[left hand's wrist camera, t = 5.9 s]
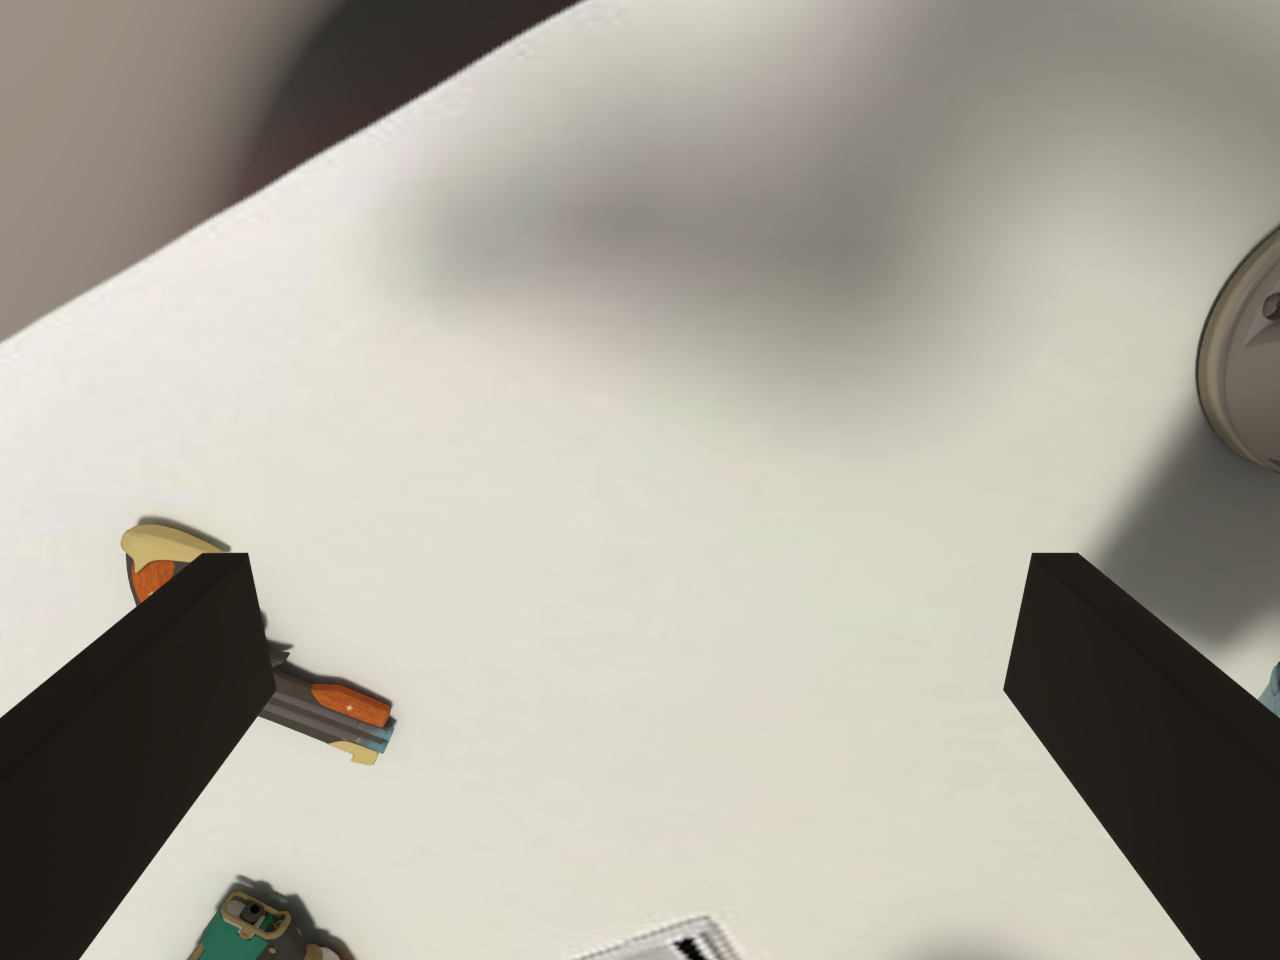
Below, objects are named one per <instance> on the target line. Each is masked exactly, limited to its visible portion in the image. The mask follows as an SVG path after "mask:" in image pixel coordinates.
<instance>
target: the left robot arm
mask: <svg viewBox="0 0 1280 960" xmlns="http://www.w3.org/2000/svg"><path fill="white" fill-rule="evenodd" d="M1198 380H1199V391H1200V396H1201V401H1202V404H1203V408H1204V411H1205V413H1206V416H1207V418H1208V420H1209V422H1210V424H1211V426H1212V427H1213V429H1214V430H1215V432H1216V433H1217V434H1218V436H1219V437H1220V438H1221V439H1222V441H1223V442H1224V443H1226V444H1227V445H1228V446H1229V447H1230V448H1231V449H1232V450H1234V451H1235V452H1236V453H1238V454H1239V455H1241V456H1242V457H1244V458H1246V459H1248V460H1250V461H1252V462H1254V463H1256V464H1259V465H1261V466H1263V467H1266V468H1268V469H1270V470H1273V471H1275V472H1277V473H1280V229H1279V230H1278V231H1277V232H1276V233H1274V234H1273V235H1272V236H1271V237H1270V238H1268V239H1267V240H1266V241H1265V242H1264V243H1263V244H1262V245H1261V246H1260V247H1259V248H1258V249H1257V250H1256V251H1255V252H1254V253H1253V254H1252V255H1251V256H1250V257H1249V258H1248V259H1247V260H1246V262H1245V263H1244V264H1243V265H1242V266H1241V267H1240V269H1239V270H1238V271H1237V273H1236V274H1235V275H1234V277H1233V278H1232V279H1231V281H1230V282H1229V284H1228V285H1227V287H1226V289H1225V290H1224V292H1223V293H1222V295H1221V297H1220V299H1219V301H1218V303H1217V304H1216V306H1215V308H1214V311H1213V313H1212V315H1211V317H1210V320H1209V322H1208V325H1207V328H1206V331H1205V334H1204V338H1203V342H1202V346H1201V351H1200V358H1199V370H1198ZM276 690H277V689H276V684H275V679H274V674H273V669H272V665H271V660H270V655H269V650H268V646H267V641H266V636H265V631H264V627H263V622H262V617H261V612H260V608H259V603H258V598H257V593H256V589H255V584H254V579H253V574H252V570H251V565H250V560H249V555H248V553H201V554H200V555H199V556H198V557H197V558H195V559H194V560H193V561H192V562H190V563H189V564H188V565H187V566H186V567H184V568H183V569H182V570H181V571H179V572H178V573H177V574H176V575H175V576H173V577H172V578H171V579H170V580H168V581H167V582H166V583H165V584H164V585H162V586H161V587H160V588H159V589H157V590H156V591H155V592H154V593H153V594H151V595H150V596H149V597H148V598H146V599H145V600H144V601H143V602H142V603H140V604H139V605H138V606H137V607H135V608H134V609H133V610H132V611H131V612H129V613H128V614H127V615H126V616H124V617H123V618H122V619H121V620H120V621H118V622H117V623H116V624H115V625H113V626H112V627H111V628H110V629H109V630H107V631H106V632H105V633H104V634H102V635H101V636H100V637H99V638H98V639H96V640H95V641H94V642H93V643H91V644H90V645H89V646H88V647H87V648H85V649H84V650H83V651H82V652H80V653H79V654H78V655H77V656H76V657H74V658H73V659H72V660H71V661H69V662H68V663H67V664H66V665H65V666H63V667H62V668H61V669H60V670H58V671H57V672H56V673H55V674H54V675H52V676H51V677H50V678H49V679H47V680H46V681H45V682H44V683H43V684H41V685H40V686H39V687H38V688H36V689H35V690H34V691H33V692H32V693H30V694H29V695H28V696H27V697H25V698H24V699H23V700H22V701H21V702H19V703H18V704H17V705H16V706H14V707H13V708H12V709H11V710H10V711H8V712H7V713H6V714H5V715H3V716H2V717H1V718H0V960H79V959H80V958H81V956H82V955H83V954H84V952H85V951H86V949H87V948H88V947H89V945H90V944H91V943H92V941H93V940H94V939H95V937H96V936H97V934H98V933H99V932H100V930H101V929H102V928H103V926H104V925H105V924H106V922H107V921H108V919H109V918H110V917H111V915H112V914H113V913H114V911H115V910H116V909H117V907H118V906H119V904H120V903H121V902H122V900H123V899H124V898H125V896H126V895H127V894H128V892H129V891H130V889H131V888H132V887H133V885H134V884H135V883H136V881H137V880H138V879H139V877H140V876H141V874H142V873H143V872H144V870H145V869H146V868H147V866H148V865H149V864H150V862H151V861H152V859H153V858H154V857H155V855H156V854H157V853H158V851H159V850H160V849H161V847H162V846H163V844H164V843H165V842H166V840H167V839H168V838H169V836H170V835H171V834H172V832H173V831H174V829H175V828H176V827H177V825H178V824H179V823H180V821H181V820H182V819H183V817H184V816H185V814H186V813H187V812H188V810H189V809H190V808H191V806H192V805H193V804H194V802H195V801H196V799H197V798H198V797H199V795H200V794H201V793H202V791H203V790H204V789H205V787H206V786H207V784H208V783H209V782H210V780H211V779H212V778H213V776H214V775H215V774H216V772H217V771H218V769H219V768H220V767H221V765H222V764H223V763H224V761H225V760H226V759H227V757H228V756H229V754H230V753H231V752H232V750H233V749H234V748H235V746H236V745H237V744H238V742H239V741H240V739H241V738H242V737H243V735H244V734H245V733H246V731H247V730H248V729H249V727H250V726H251V724H252V723H253V722H254V720H255V719H256V718H257V716H258V715H259V714H260V712H261V711H262V709H263V708H264V707H265V705H266V704H267V703H268V701H269V700H270V699H271V697H272V696H273V694H274V693H275V692H276ZM1003 690H1004V692H1005V693H1006V694H1007V696H1008V697H1009V699H1010V700H1011V701H1012V703H1013V704H1014V705H1015V707H1016V708H1017V709H1018V711H1019V712H1020V714H1021V715H1022V716H1023V718H1024V719H1025V720H1026V722H1027V723H1028V724H1029V726H1030V727H1031V729H1032V730H1033V731H1034V733H1035V734H1036V735H1037V737H1038V738H1039V739H1040V741H1041V742H1042V744H1043V745H1044V746H1045V748H1046V749H1047V750H1048V752H1049V753H1050V754H1051V756H1052V757H1053V759H1054V760H1055V761H1056V763H1057V764H1058V765H1059V767H1060V768H1061V769H1062V771H1063V772H1064V774H1065V775H1066V776H1067V778H1068V779H1069V780H1070V782H1071V783H1072V784H1073V786H1074V787H1075V789H1076V790H1077V791H1078V793H1079V794H1080V795H1081V797H1082V798H1083V799H1084V801H1085V802H1086V804H1087V805H1088V806H1089V808H1090V809H1091V810H1092V812H1093V813H1094V814H1095V816H1096V817H1097V819H1098V820H1099V821H1100V823H1101V824H1102V825H1103V827H1104V828H1105V829H1106V831H1107V832H1108V834H1109V835H1110V836H1111V838H1112V839H1113V840H1114V842H1115V843H1116V844H1117V846H1118V847H1119V849H1120V850H1121V851H1122V853H1123V854H1124V855H1125V857H1126V858H1127V859H1128V861H1129V862H1130V864H1131V865H1132V866H1133V868H1134V869H1135V870H1136V872H1137V873H1138V874H1139V876H1140V877H1141V879H1142V880H1143V881H1144V883H1145V884H1146V885H1147V887H1148V888H1149V889H1150V891H1151V892H1152V894H1153V895H1154V896H1155V898H1156V899H1157V900H1158V902H1159V903H1160V904H1161V906H1162V907H1163V909H1164V910H1165V911H1166V913H1167V914H1168V915H1169V917H1170V918H1171V919H1172V921H1173V922H1174V924H1175V925H1176V926H1177V928H1178V929H1179V930H1180V932H1181V933H1182V934H1183V936H1184V937H1185V939H1186V940H1187V941H1188V943H1189V944H1190V945H1191V947H1192V948H1193V949H1194V951H1195V952H1196V954H1197V955H1198V956H1199V958H1200V959H1201V960H1280V662H1278V664H1277V665H1276V666H1275V667H1274V669H1273V671H1272V674H1271V678H1270V683H1269V684H1268V686H1267V687H1266V689H1265V690H1264V692H1263V693H1262V695H1261V696H1260V697H1259V699H1258V700H1257V699H1256V698H1255V697H1253V696H1252V695H1251V694H1250V693H1248V692H1247V691H1246V690H1245V689H1244V688H1242V687H1241V686H1240V685H1239V684H1237V683H1236V682H1235V681H1234V680H1233V679H1231V678H1230V677H1229V676H1228V675H1226V674H1225V673H1224V672H1223V671H1222V670H1220V669H1219V668H1218V667H1217V666H1215V665H1214V664H1213V663H1212V662H1211V661H1209V660H1208V659H1207V658H1206V657H1204V656H1203V655H1202V654H1201V653H1200V652H1198V651H1197V650H1196V649H1195V648H1193V647H1192V646H1191V645H1190V644H1189V643H1187V642H1186V641H1185V640H1184V639H1182V638H1181V637H1180V636H1179V635H1178V634H1176V633H1175V632H1174V631H1173V630H1171V629H1170V628H1169V627H1168V626H1167V625H1165V624H1164V623H1163V622H1162V621H1160V620H1159V619H1158V618H1157V617H1156V616H1154V615H1153V614H1152V613H1151V612H1149V611H1148V610H1147V609H1146V608H1145V607H1143V606H1142V605H1141V604H1140V603H1138V602H1137V601H1136V600H1135V599H1134V598H1132V597H1131V596H1130V595H1129V594H1127V593H1126V592H1125V591H1124V590H1123V589H1121V588H1120V587H1119V586H1118V585H1116V584H1115V583H1114V582H1113V581H1112V580H1110V579H1109V578H1108V577H1107V576H1105V575H1104V574H1103V573H1102V572H1101V571H1099V570H1098V569H1097V568H1096V567H1094V566H1093V565H1092V564H1091V563H1090V562H1088V561H1087V560H1086V559H1085V558H1083V557H1082V556H1081V555H1080V554H1079V553H1032V555H1031V560H1030V565H1029V570H1028V574H1027V579H1026V584H1025V589H1024V593H1023V598H1022V603H1021V608H1020V612H1019V617H1018V622H1017V627H1016V631H1015V636H1014V641H1013V646H1012V650H1011V655H1010V660H1009V665H1008V669H1007V674H1006V679H1005V684H1004V689H1003Z"/></svg>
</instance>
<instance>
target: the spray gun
mask: <svg viewBox="0 0 1280 960" xmlns="http://www.w3.org/2000/svg"><path fill="white" fill-rule="evenodd" d="M234 897H238V898H241V899H243V900H245V901H247V902H248V904H247V905H244V904H243V903H241V902H239V901H233V900H231V899H232V898H234ZM230 900H231V901H230ZM265 912H268V913H269V914H266V916H264V914H265ZM272 915H273V916H275V917H277V918H282V917H285V919H284V921H282V920H279V921H277V922H276V923H275V925H274V921H273V917H272ZM188 960H340V958H339V956H338V955H337V954H335V953H334V952H333V951H332V950H330V949H329V948H326V947H319V946H318V945H317V944H308V945H305V944H304V942H303V940H302V938H301V936H300V934H299V932H298V931H297V929H296V927H295V925H294V923H293V921H291V916H290V914H289V913H288V911H282V912H279V911H277V910H275V909H274V908H272V907H270V906H268V905H266V904H264V903H262V902H260V901H259V900H257V899H255V898H253V897H251V896H249V895H247V894H245V893H244V892H241V891H235V892H233V893H232V894H231V895H229V897H228V898H227V899H226V901H225V902H224V904H223V905H222V906H221V907H220V909H219V910H218V912H217V913H216V914H215V916H214V917H213V919H212V920H211V921H210V923H209V924H208V926H207V927H206V928H205V930H204V932H203V935H202V941H201V943H200V944H199V945H198V947H197V948H196V949H195V951H194V952H193V954H192V955H191V956H190V958H189V959H188Z"/></svg>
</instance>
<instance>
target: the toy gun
mask: <svg viewBox="0 0 1280 960" xmlns="http://www.w3.org/2000/svg"><path fill="white" fill-rule="evenodd" d="M121 547H122V549H123V550H124V551H125V552H126V563H127V572H128V579H129V583H130V588H131V591H132V594H133V597H134V600H135V603H136V606H138V605H139V604H140V603H142V602H143V601H144V600H145V599H146V598H148V597H149V596H150V595H151V594H153V593H154V592H155V591H156V590H157V589H159V588H160V587H161V586H162V585H164V584H165V583H166V582H167V581H168V580H170V579H171V578H172V577H173V576H175V575H176V574H177V573H178V572H179V571H181V570H182V569H183V568H184V567H186V566H187V565H188V564H189V563H190V562H192V561H193V560H194V559H195V558H197V557H198V556H199V555H200V554H201V553H222V551H221V550H220V549H218V548H216V547H215V546H213V545H211V544H209V543H207V542H205V541H203V540H201V539H198V538H196V537H194V536H192V535H190V534H187V533H185V532H182V531H180V530H177V529H173V528H169V527H165V526H161V525H151V524H147V525H139V526H136V527H133V528H131V529H129V530H127V531H126V532H125V533H124V534H123V537H122V539H121ZM289 654H290V653H289V652H280V651H273V650H269V655H270V660H271V665H272V669H273V674H274V679H275V684H276V689H277V690H276V692H275V693H274V694H273V696H272V697H271V699H270V700H269V701H268V703H267V704H266V705H265V707H264V708H263V709H262V711H261V712H260V714H259V715H258V716H259V717H262V718H265V719H267V720H270V721H273V722H275V723H278V724H280V725H283V726H285V727H288V728H290V729H293V730H296V731H298V732H301V733H303V734H306V735H308V736H311V737H313V738H316V739H318V740H320V741H323V742H325V743H327V744H328V745H331V746H333V747H336V748H338V749H341V750H344V751H346V752H348V753H351V754H353V758H352V760H351V762H356V763H361V764H365V765H371V764H374V763H375V761H376V759H377V756H378V753H382V754H383V753H384V751H385V749H386V747H387V745H388V742H389V739H390V737H391V735H392V733H393V730H394V727H392V726H390V725H391V723H389V722H387V719H388V716H389V714H390V708H391V707H390V706H389V705H386V704H384V703H382V702H380V701H377V700H375V699H373V698H370V697H368V696H365V695H363V694H361V693H358V692H356V691H354V690H351V689H349V688H347V687H344V686H341V685H334V684H309V683H307V682H304V681H302V680H299V679H297V678H294V677H292V676H289V675H287V674H286V673H284V672H282V671H281V670H279V669H277V668H276V667H275V666H277V665H280V664H282V663H284V662H285V660H286V659H287V657H288V656H289Z"/></svg>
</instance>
